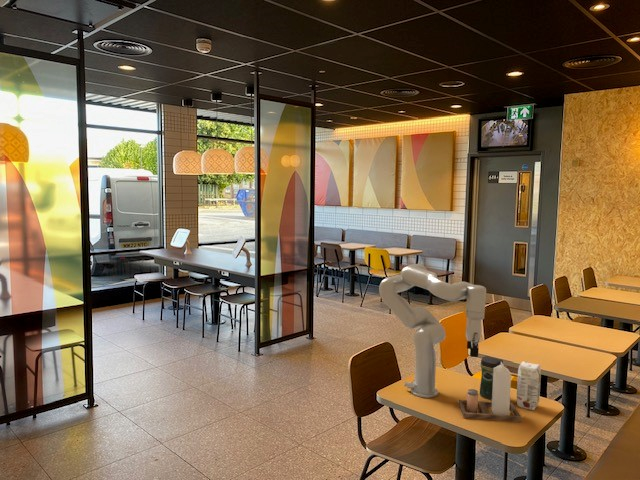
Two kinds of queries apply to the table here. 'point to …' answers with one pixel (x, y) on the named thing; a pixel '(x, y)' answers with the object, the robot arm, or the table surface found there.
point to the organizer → (485, 413)
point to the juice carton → (528, 385)
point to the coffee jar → (488, 375)
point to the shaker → (472, 401)
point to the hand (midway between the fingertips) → (472, 352)
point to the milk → (501, 390)
